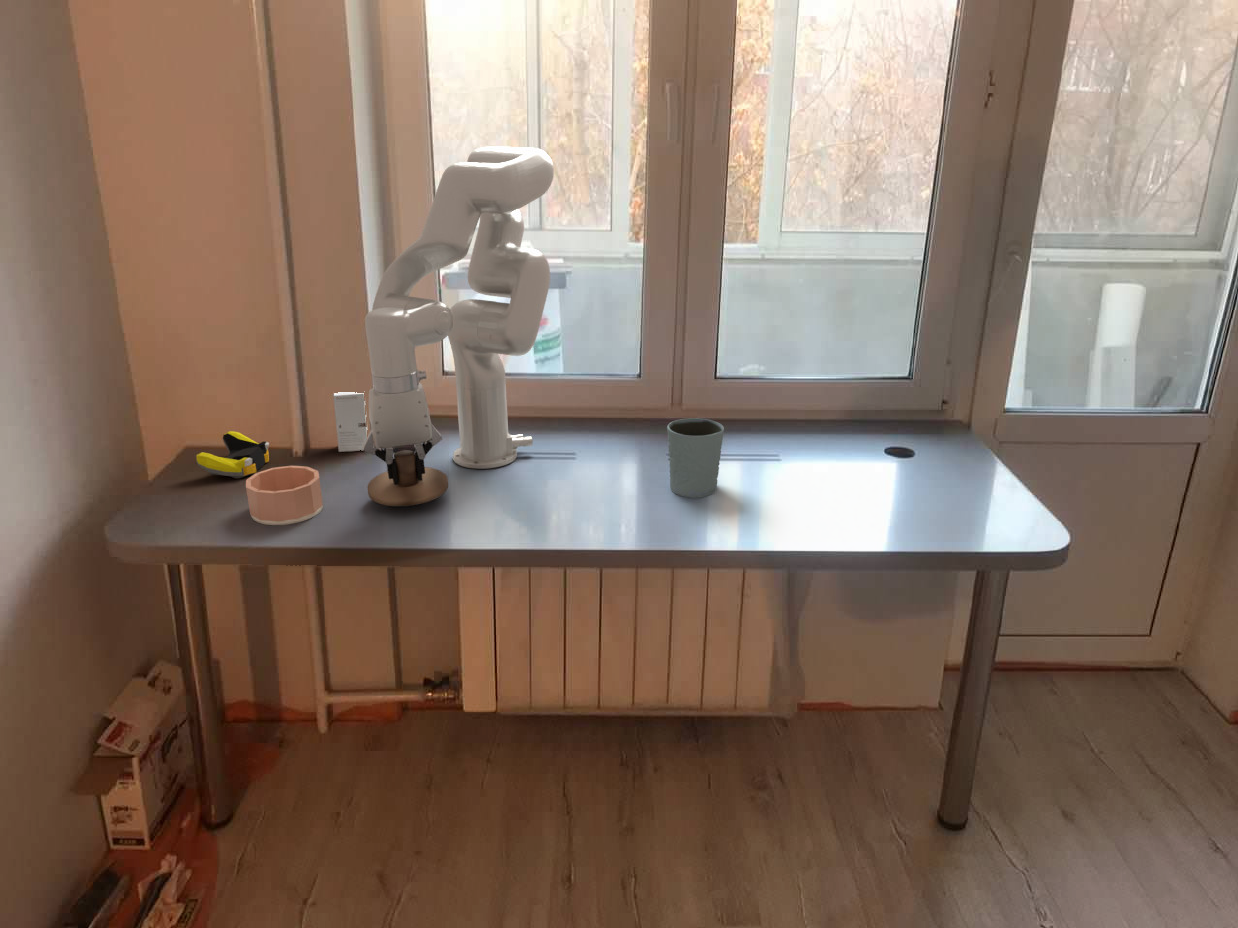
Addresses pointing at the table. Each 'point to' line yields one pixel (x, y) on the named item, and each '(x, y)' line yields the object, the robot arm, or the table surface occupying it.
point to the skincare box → (350, 420)
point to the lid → (407, 483)
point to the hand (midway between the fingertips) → (407, 478)
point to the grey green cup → (694, 456)
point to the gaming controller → (236, 457)
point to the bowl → (284, 495)
